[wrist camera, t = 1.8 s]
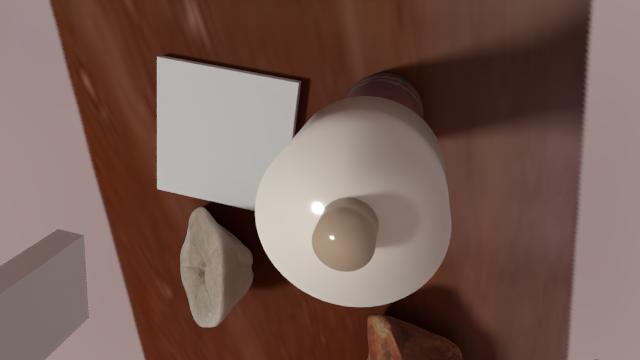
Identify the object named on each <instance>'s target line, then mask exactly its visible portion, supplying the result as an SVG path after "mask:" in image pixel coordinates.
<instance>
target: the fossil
mask: <svg viewBox="0 0 640 360" xmlns="http://www.w3.org/2000/svg"><path fill="white" fill-rule="evenodd" d="M368 345H369V355H368V359H367V360H463V358H462V353H461V350H460V349H459V348H458V347H457V345H456V344H454V343H453V342H451V341H450V340H448V339H447V338H445V337H443V336H440V335H438V334H435V333H432V332H430V331H427V330H425V329H423V328H421V327H418V326H416V325H414V324H411V323H408V322H405V321H402V320H400V319H397V318H394V317H390V316H385V315H381V314H372V315H369V316H368Z"/></svg>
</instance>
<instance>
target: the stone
mask: <svg viewBox="0 0 640 360" xmlns="http://www.w3.org/2000/svg"><path fill="white" fill-rule="evenodd" d="M252 263H253V257H252V254H251V252H250V250H249V249H248V248H247V247H246V246H244V245H243V244H242V242H241V241H240V240H239V239H237V238H236V237H235V236H234V235H233V234H231V233H230V232H229V231H228V230H226V229H225V228H224V227H222V226H221V225H219V224H218V223H217V222H216V221H215V220H214V218H213V217H212V216H211V214H210V213H209V212H208V211H207V210H206V209H205V208H204V207H198V208H197V209H195V210H194V211H193V212H192V214H191V216H190V219H189V227H188V231H187V236H186V239H185V243H184V245H183V247H182V250H181V256H180V264H181V279H182V282H183V285H184V288H185V291H186V294H187V297H188V301H189V305H190V309H191V312H192V315H193V317H194V320H195V321H196V322H197V324H198V325H199V326H201V327H215V326H217V325H219V324H220V323H221V322H222V321H223V320H224V319H225V318H226V316H227V315H228V314H229V312H230V311H231V310H232V308H233V307H234V306H235V304H236V303H237V302H238V301H239V300H240V299H241V298H242V297H243V296H244V295H245V294H246V293H247V291H248V290H249V288H250V286H251V284H252V281H253V271H252Z"/></svg>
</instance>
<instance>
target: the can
mask: <svg viewBox="0 0 640 360" xmlns="http://www.w3.org/2000/svg"><path fill="white" fill-rule="evenodd" d="M356 96H374V97H381V98H385V99H389V100H392V101H395V102H397V103H400V104H402V105H404V106H405V107H407V108H409V109H411V110H412V111H413V112H415V113H416V114H417V115H419V116H420V117H421V118H422V119H423V102H422V99H421V97H420V94H419V92H418V91H417V89H416V88H415V87H414V86H413V84H412V83H411V82H409V81H408V80H406V79H405V78H403V77H402V76H399V75H395V74H392V73H375V74H373V75H370V76H368V77H365V78H363V79H362V80H361V81H359V82H358V83H357V84H356V85H355V86H354V87H353V88H352V90H351V91H350V92H349V94H348V95H347V97H346V98H349V97H356Z"/></svg>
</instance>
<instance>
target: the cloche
mask: <svg viewBox="0 0 640 360" xmlns="http://www.w3.org/2000/svg"><path fill="white" fill-rule="evenodd" d="M255 221H256V228H257V232H258V236H259V239H260V241H261V244H262V246H263V248H264V250H265V252H266V254H267V256H268V258H269V259H270V260H271V262H272V263H273V265H274V266H275V267H276V268H277V270H278V271H279V272H280V273H281V274H282V275H283V276H284V277H285V278H286V279H287V280H289V281H290V282H291V283H292V284H293V285H295V286H296V287H298V288H299V289H301V290H302V291H304V292H306V293H308V294H309V295H311V296H313V297H316V298H318V299H320V300H323V301H326V302H329V303H333V304H337V305H342V306H349V307H372V306H379V305H384V304H388V303H391V302H394V301H397V300H399V299H402V298H404V297H406V296H408V295H410V294H411V293H413V292H415V291H416V290H418V289H419V288H420V287H422V286H423V285H424V284H425V283H426V282H427V281H428V280H429V279H430V278H431V277H432V276H433V275H434V273H435V272H436V271H437V269H438V268H439V266H440V265H441V263H442V261H443V259H444V257H445V255H446V252H447V249H448V246H449V241H450V237H451V214H450V205H449V196H448V188H447V179H446V170H445V162H444V156H443V152H442V149H441V146H440V144H439V141H438V139H437V138H436V136H435V134H434V132H433V131H432V130H431V128H430V127H429V126H428V124H427V123H426V122H425V121H424V120H423V119H422V118H421V117H420V116H419V115H417V114H416V113H415V112H413V111H412V110H411V109H409V108H407V107H405V106H404V105H402V104H400V103H397V102H395V101H392V100H389V99H385V98H381V97H374V96H356V97H349V98H345V99H342V100H338V101H336V102H334V103H331V104H329V105H327V106H326V107H324V108H323V109H321V110H320V111H318V112H317V113H316V114H315V115H313V116H312V117H311V118H310V119H309V121H308V122H307V123H306V124H305V125H304V126H303V127H302V128H301V130H300V131H299V132H298V133H297V134H296V135H295V136H294V138H293V139H292V140H291V141H290V142H289V143H288V145H287V146H286V147H285V148H284V149H283V150H282V151H281V153H280V154H279V155H278V156H277V157H276V158H275V159H274V161H273V162H272V163H271V165H270V166H269V167H268V169H267V170H266V172H265V174H264V176H263V178H262V180H261V182H260V185H259V188H258V191H257V196H256V202H255Z"/></svg>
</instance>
